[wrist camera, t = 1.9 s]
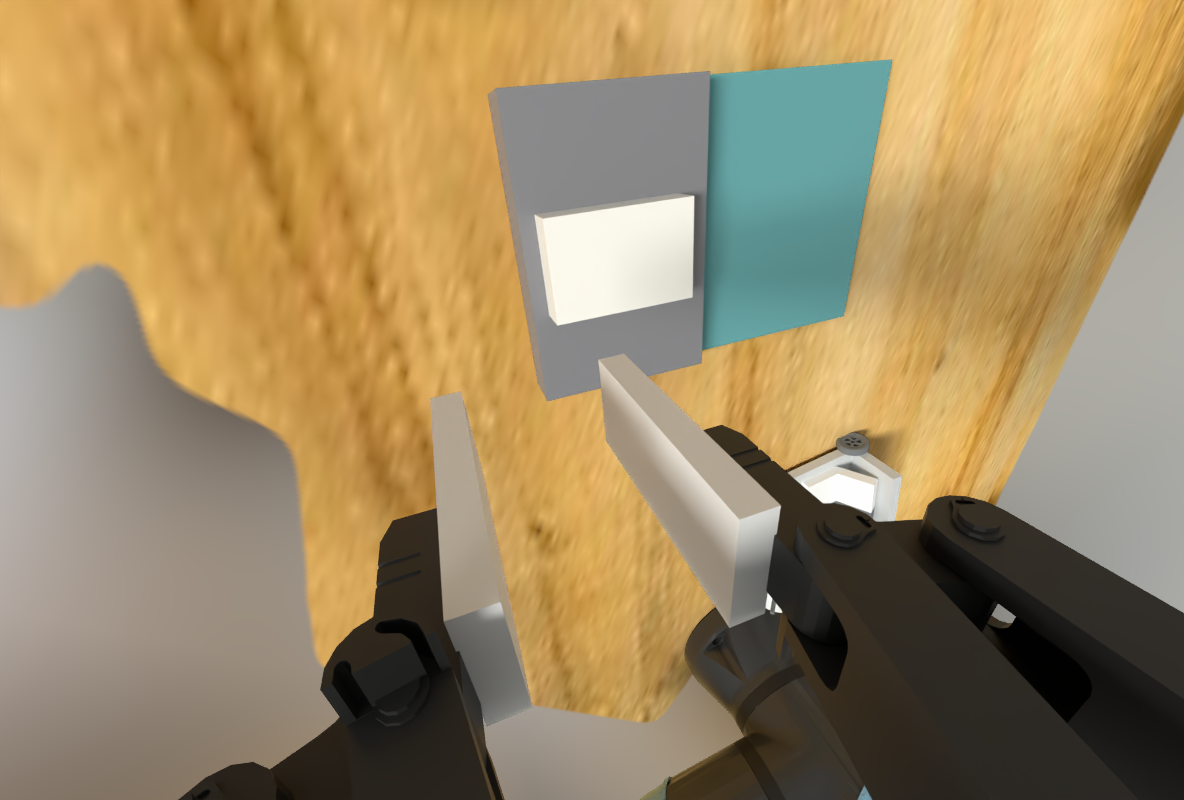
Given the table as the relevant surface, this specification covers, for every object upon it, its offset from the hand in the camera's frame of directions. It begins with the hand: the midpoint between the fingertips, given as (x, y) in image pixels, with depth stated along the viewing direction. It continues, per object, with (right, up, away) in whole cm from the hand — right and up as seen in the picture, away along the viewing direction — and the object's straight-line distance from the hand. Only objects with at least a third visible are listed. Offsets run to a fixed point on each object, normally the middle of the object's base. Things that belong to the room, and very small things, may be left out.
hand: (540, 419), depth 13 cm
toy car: (+23, -10, +39) cm, 46 cm away
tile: (+3, +9, +16) cm, 19 cm away
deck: (+2, +11, +18) cm, 22 cm away
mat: (+15, +14, +22) cm, 30 cm away
